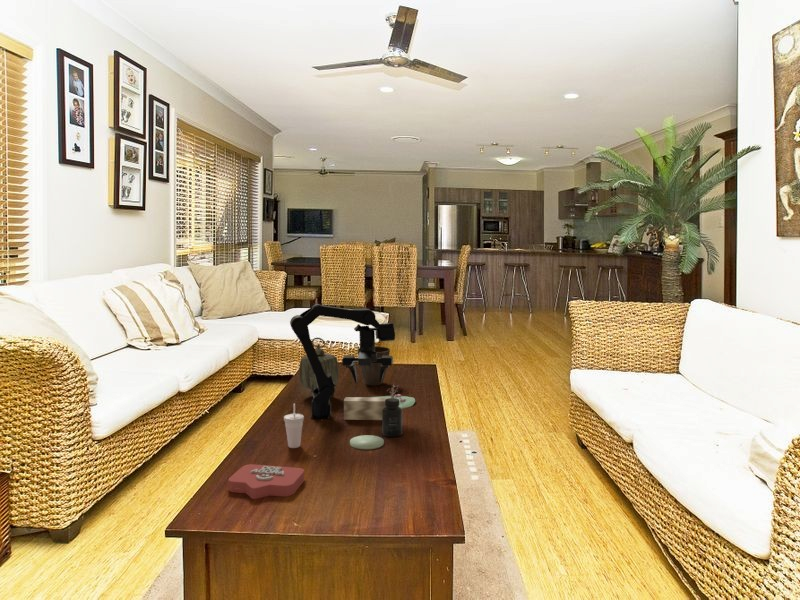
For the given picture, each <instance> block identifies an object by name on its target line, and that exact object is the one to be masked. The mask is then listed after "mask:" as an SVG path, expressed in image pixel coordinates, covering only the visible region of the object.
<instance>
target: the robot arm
mask: <svg viewBox="0 0 800 600" xmlns="http://www.w3.org/2000/svg"><path fill="white" fill-rule="evenodd" d="M319 317H328V318H329V317H330V318H334V319H335V318H336V319H344V320H350V321H353V322H355V323H358V324H357V325H356V326H355V327H353V329H354V331H355V332H359V348H360V351H359V355H358V354H357V357H355V355H351V354H350V355H347V354H346V355H344V357H343V358H342V359H341V366H344V367H345V368H346V369H347V368H348V369H349V371H350V372H351V376H352V377H353V380H354V383H355V384H357V383H358V374H357V365H356V364H358V366H362V365H367V366H370V365H372V363H381V364H382V365H381V367H380V383H381V381H382V377H383V374H384V371H385V369H386V368H387V369H388V368H389V367H390V366H391V367H392V365H394V357H393V355H389V356H382V358H377V352H375V347H376V339H378V342H392V341H395V339H396V331H395V327H394V323H393V322H386V323H380V322H379V321H378V320H377V319H376V314H375V312H374V311H373V310H371V309H369V308H364V307H363V308H362V307H361V308H358V307H357V308H344V307H337V306H330V305H325V304H319V303H314V304H313V305H312V306H311V307H310V308H308V309H307V310H305V311H303V312H302V313H300V314H296V315H294V316H293V317H291V318H290V321H289V324H290V327H291V330H292V332H293V333H294V335H296V337H297V339H298V340H299V342H300V343H301V345H302V348H303V350H304V353H305V356H306V355H307V357H308V360H309V362H310V364H311V367H312V369H313V371H314V374H315V379H316V383H317V388H316V389H315V390H314V391H313V392H312V393H311V395H312V397H313V398H312V400H311V416H310V419H323V420H325V419H329V418H330V416H331V415H332V403H331V401H330V398H332V397H331V396H332V395H333V394H334V395H335V391H336V389H335V387H337V386H336V385H335V384H334V382H333V380H332V376H331V375H330V373H328V374H326V373H325V372H324V370H323V368H322V365H321V363H320V361H319V358H318V356H317V353H316V351H315V349H316V348H315V347H314V346H313V344H314V343H313V344H312V339H311V336H310V330H309V325H311V324H312V323H313V322H314V321H316V319H317V318H319ZM361 324H362V325H361ZM370 326H372V327H370ZM387 369H386V370H387ZM334 386H335V387H334Z"/></svg>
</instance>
